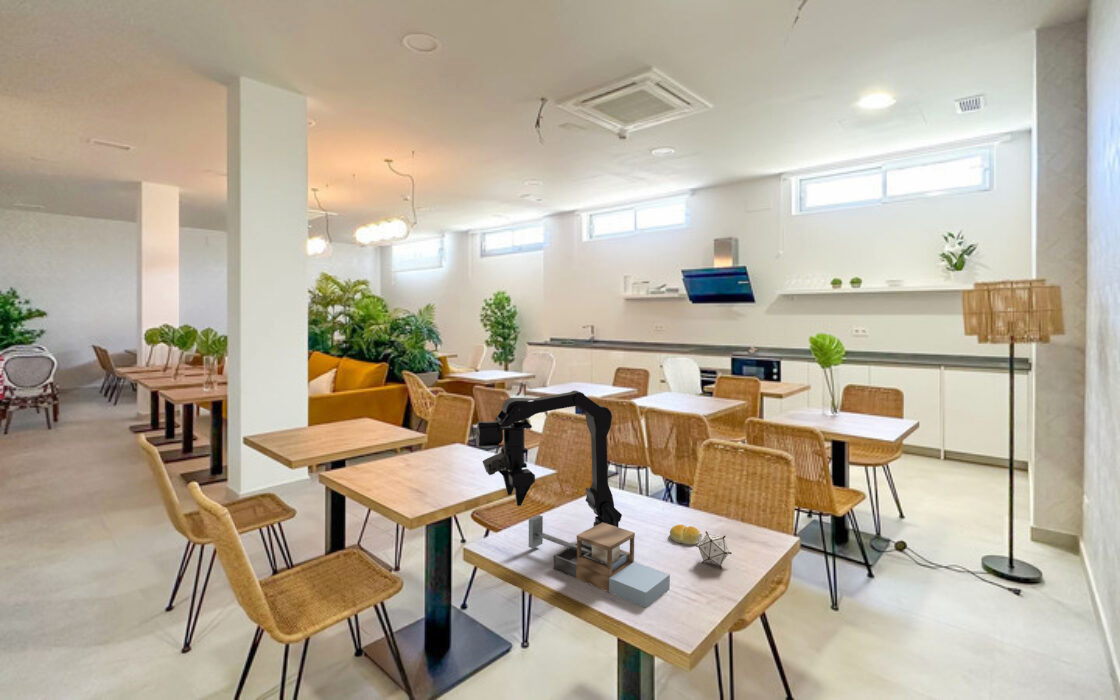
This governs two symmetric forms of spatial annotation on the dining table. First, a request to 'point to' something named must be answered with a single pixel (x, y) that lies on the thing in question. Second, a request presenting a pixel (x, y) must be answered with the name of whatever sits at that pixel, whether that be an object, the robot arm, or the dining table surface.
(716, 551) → the game die
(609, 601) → the dining table surface
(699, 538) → the bread roll
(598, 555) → the block
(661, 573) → the pad
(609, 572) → the tunnel
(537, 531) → the slider
